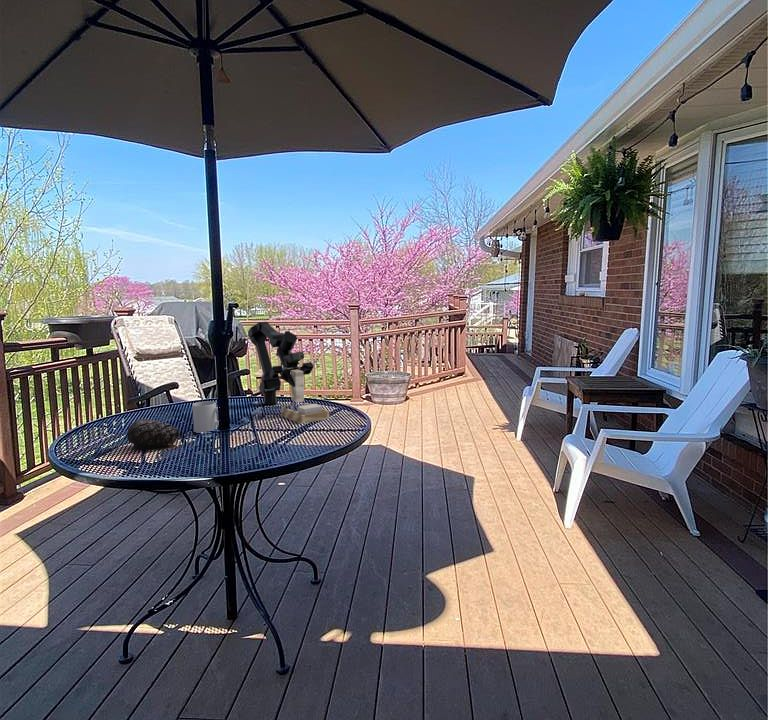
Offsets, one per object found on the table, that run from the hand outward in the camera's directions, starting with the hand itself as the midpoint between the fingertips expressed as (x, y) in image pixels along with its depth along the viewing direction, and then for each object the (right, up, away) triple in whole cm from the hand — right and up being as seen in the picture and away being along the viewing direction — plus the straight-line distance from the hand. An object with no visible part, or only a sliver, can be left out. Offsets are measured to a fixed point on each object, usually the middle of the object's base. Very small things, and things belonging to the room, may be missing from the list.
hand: (298, 385), depth 202 cm
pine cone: (-43, -19, -35) cm, 59 cm away
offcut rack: (+3, -13, -2) cm, 14 cm away
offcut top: (+6, -10, -6) cm, 14 cm away
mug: (-31, -17, -18) cm, 39 cm away
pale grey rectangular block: (-1, -6, +2) cm, 7 cm away
